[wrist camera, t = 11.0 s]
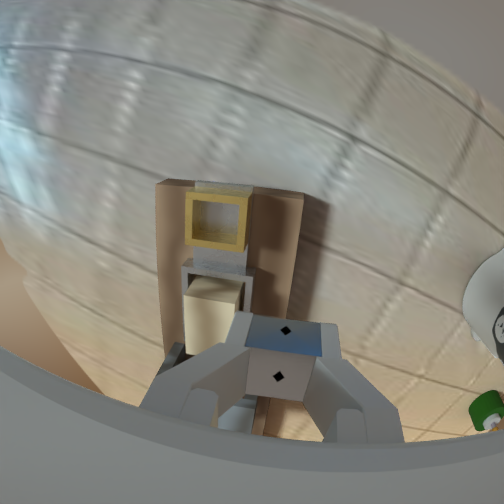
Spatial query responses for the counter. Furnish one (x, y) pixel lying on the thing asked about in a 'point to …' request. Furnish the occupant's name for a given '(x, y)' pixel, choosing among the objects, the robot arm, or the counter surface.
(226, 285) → the maple block
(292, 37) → the counter surface
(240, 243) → the sled
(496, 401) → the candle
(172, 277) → the tunnel deck
